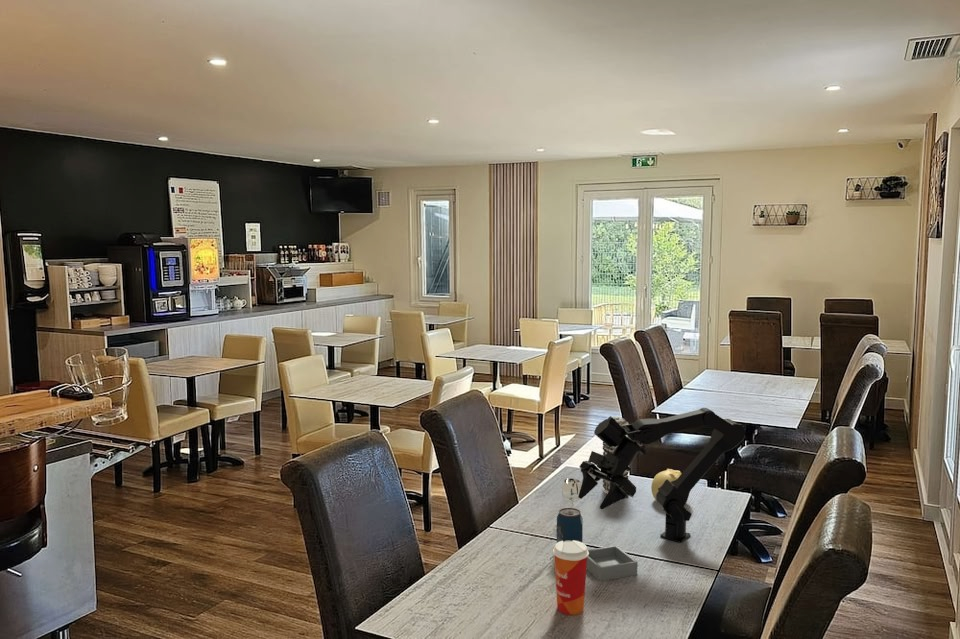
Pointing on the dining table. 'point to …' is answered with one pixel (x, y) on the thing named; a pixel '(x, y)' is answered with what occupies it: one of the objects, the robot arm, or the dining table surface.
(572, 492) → the wineglass
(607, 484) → the decorative candle
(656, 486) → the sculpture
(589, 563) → the tray
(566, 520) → the soda can
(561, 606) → the coffee cup
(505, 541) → the dining table surface
